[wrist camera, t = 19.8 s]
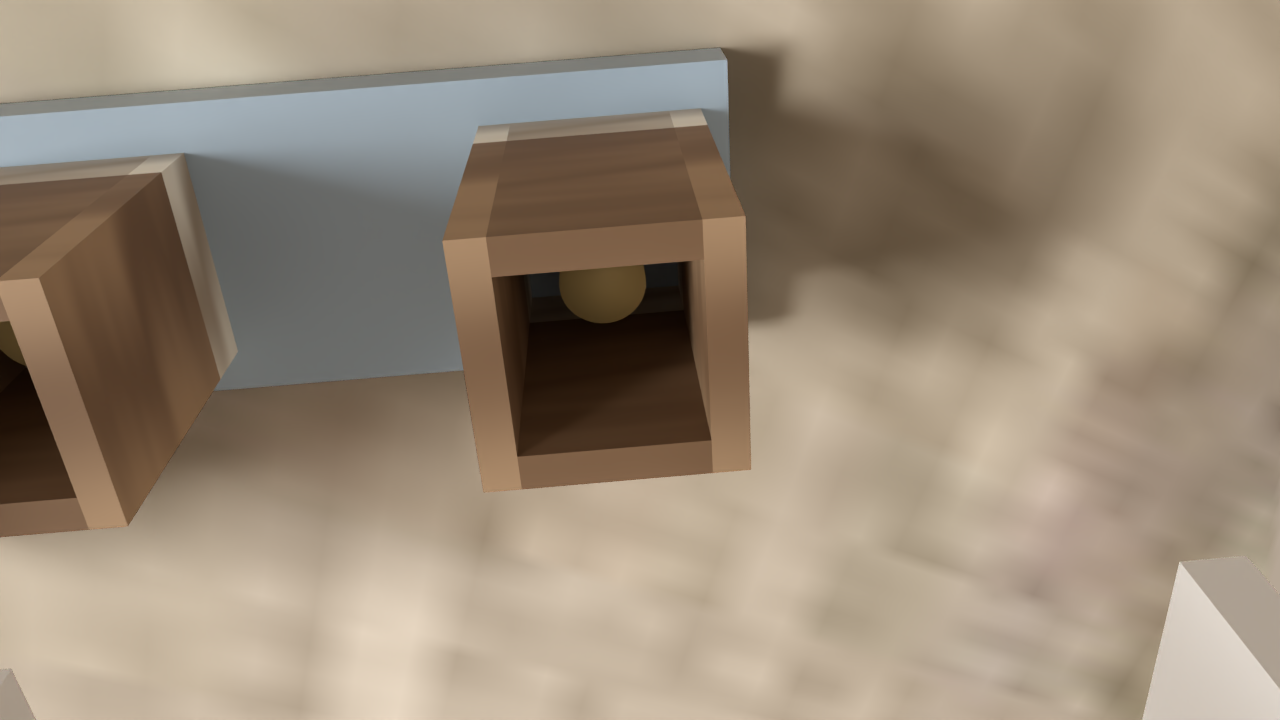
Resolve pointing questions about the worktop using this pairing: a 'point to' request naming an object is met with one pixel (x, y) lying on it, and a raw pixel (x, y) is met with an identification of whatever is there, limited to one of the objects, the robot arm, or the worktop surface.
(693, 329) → the sleeve
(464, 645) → the worktop surface
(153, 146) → the pin board
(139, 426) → the sleeve
